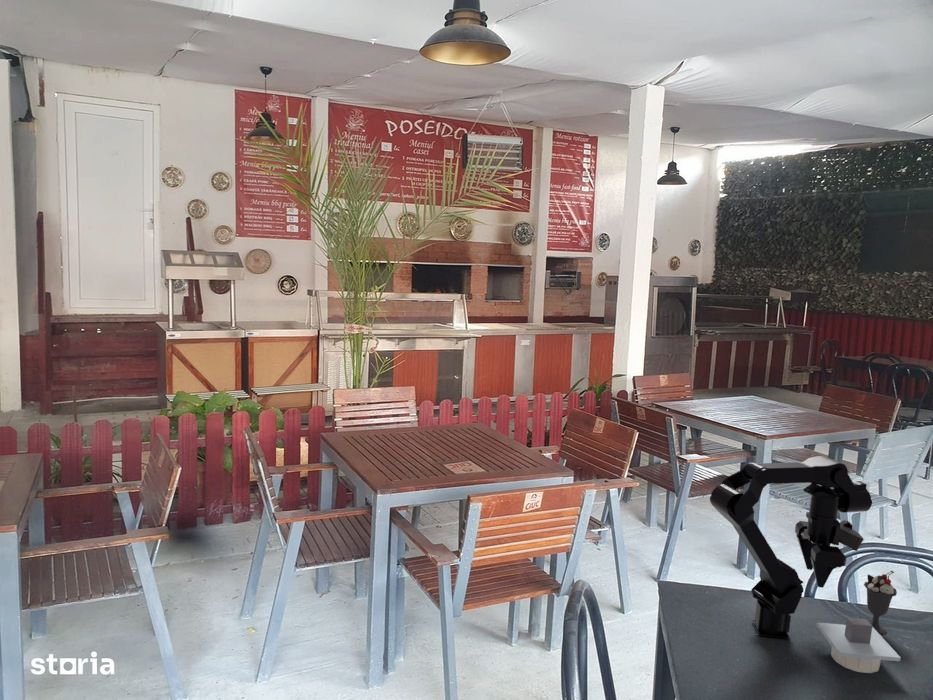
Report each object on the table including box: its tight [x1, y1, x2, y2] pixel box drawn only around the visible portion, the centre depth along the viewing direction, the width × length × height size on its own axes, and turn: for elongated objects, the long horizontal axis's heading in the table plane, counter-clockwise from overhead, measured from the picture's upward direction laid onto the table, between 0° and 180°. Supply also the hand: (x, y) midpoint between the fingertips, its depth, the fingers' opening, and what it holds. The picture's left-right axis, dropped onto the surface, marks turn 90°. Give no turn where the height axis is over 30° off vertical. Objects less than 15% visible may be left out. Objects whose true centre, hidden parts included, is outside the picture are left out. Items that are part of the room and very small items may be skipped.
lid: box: [815, 617, 902, 662], centre depth 155 cm, size 12×12×5 cm
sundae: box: [863, 570, 898, 636], centre depth 168 cm, size 7×7×15 cm
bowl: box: [830, 646, 882, 674], centre depth 156 cm, size 9×9×4 cm
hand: (814, 578), depth 167 cm, fingers open, 9 cm apart
